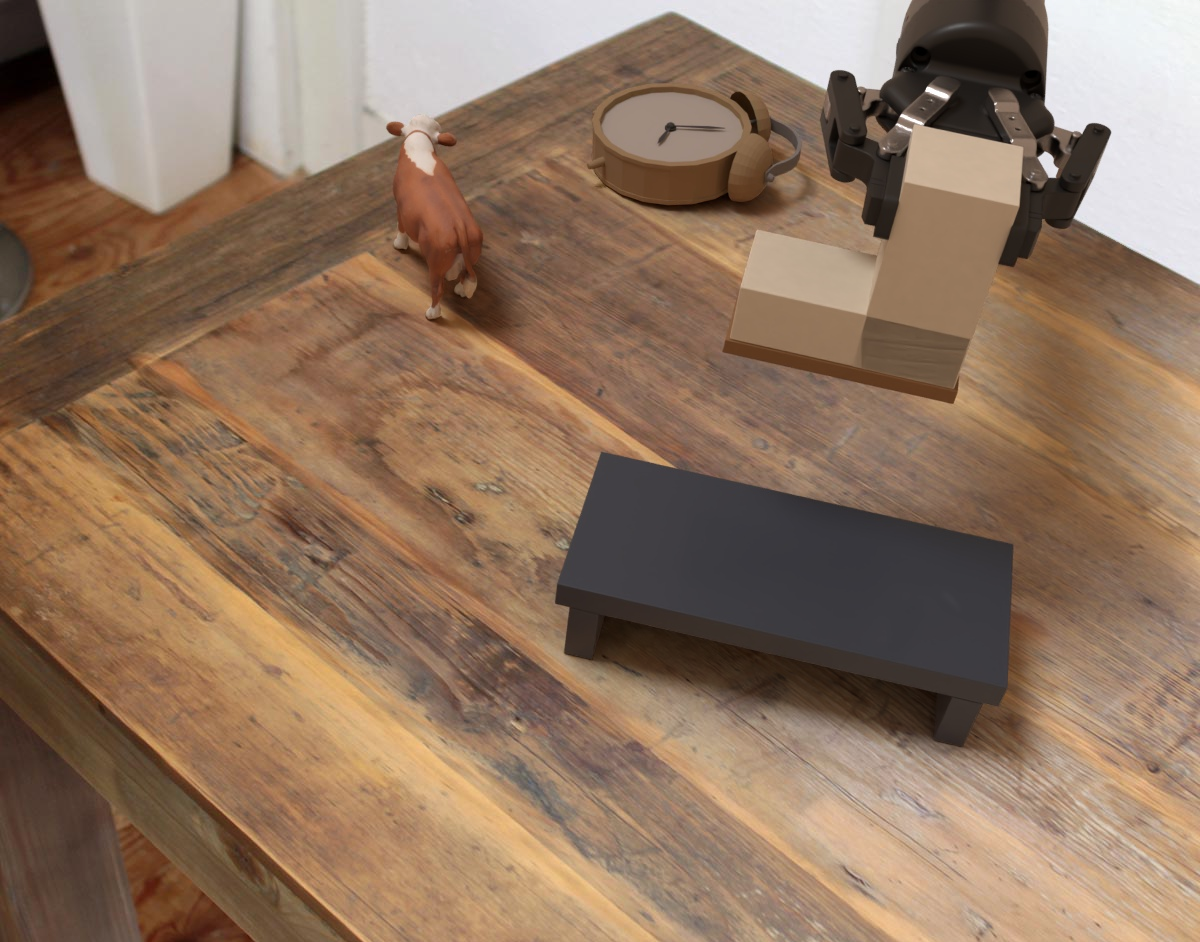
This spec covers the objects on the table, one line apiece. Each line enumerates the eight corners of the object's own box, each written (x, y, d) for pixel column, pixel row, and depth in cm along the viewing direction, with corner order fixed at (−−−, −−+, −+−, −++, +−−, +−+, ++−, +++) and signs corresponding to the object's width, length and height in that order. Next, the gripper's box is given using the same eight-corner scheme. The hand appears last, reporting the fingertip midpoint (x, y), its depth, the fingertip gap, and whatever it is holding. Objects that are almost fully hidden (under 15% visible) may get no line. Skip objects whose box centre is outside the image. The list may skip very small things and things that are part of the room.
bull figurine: (443, 207, 101) (446, 97, 95) (487, 330, 92) (493, 217, 86) (379, 212, 100) (378, 100, 94) (418, 336, 91) (419, 223, 85)
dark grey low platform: (985, 607, 80) (1014, 543, 77) (977, 750, 74) (1007, 688, 70) (592, 517, 82) (601, 450, 78) (549, 650, 75) (556, 583, 72)
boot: (960, 340, 75) (1028, 146, 67) (953, 404, 71) (1024, 208, 63) (739, 291, 76) (780, 94, 68) (722, 352, 72) (762, 152, 64)
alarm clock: (592, 79, 108) (799, 69, 107) (597, 140, 112) (797, 131, 110) (583, 162, 101) (806, 152, 99) (589, 225, 104) (804, 216, 103)
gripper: (850, -45, 74) (805, 124, 63) (1137, 12, 73) (1144, 196, 62) (819, 93, 80) (773, 271, 68) (1085, 148, 78) (1083, 339, 67)
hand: (949, 234), depth 65 cm, fingers closed on boot, 5 cm apart
